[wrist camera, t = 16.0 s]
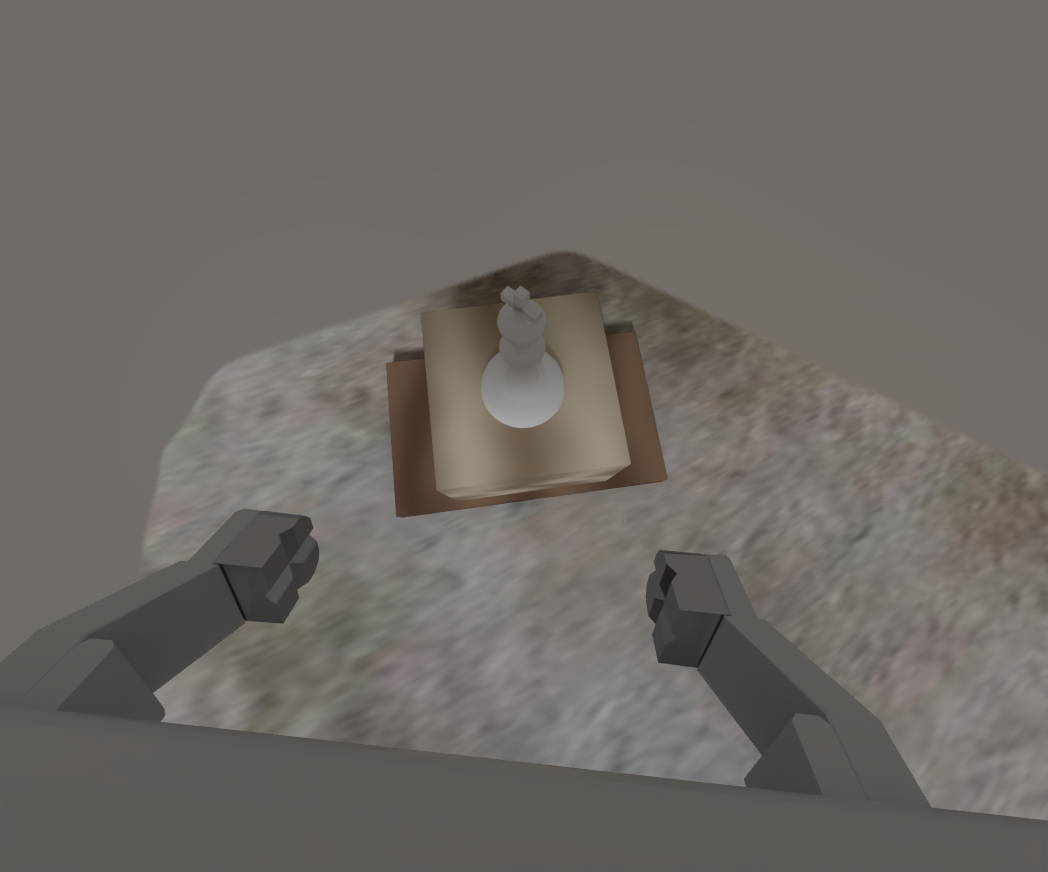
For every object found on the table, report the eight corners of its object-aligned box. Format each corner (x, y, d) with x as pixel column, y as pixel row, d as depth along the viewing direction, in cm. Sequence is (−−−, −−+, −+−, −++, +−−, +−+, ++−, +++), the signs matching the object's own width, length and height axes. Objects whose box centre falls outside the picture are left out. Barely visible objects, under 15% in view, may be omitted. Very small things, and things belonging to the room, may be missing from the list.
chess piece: (516, 333, 26) (511, 210, 16) (581, 382, 25) (617, 283, 15) (463, 393, 25) (424, 302, 15) (529, 445, 24) (531, 384, 14)
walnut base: (631, 339, 35) (666, 275, 27) (661, 481, 33) (711, 461, 24) (391, 370, 35) (347, 314, 26) (402, 517, 32) (355, 510, 23)
